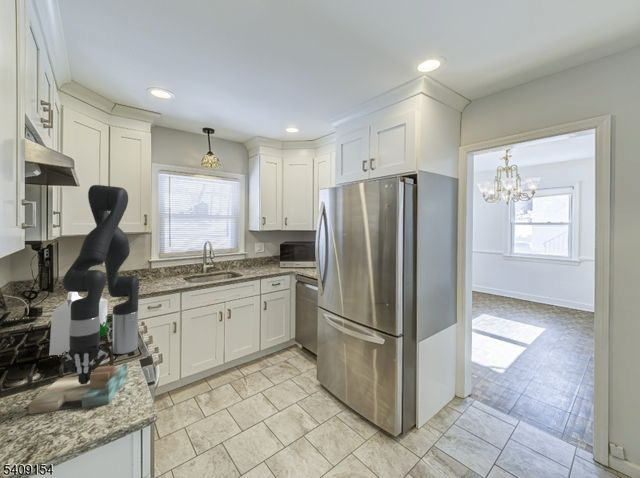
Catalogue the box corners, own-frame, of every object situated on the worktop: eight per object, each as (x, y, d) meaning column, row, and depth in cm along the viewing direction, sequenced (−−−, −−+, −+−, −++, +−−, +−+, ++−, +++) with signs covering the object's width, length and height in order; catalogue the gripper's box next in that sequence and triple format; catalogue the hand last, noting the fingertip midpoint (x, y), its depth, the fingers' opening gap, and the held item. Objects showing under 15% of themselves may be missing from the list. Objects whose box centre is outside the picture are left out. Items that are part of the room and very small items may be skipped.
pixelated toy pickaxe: (59, 386, 93) (59, 369, 93) (126, 379, 99) (126, 363, 99) (28, 414, 80) (28, 394, 80) (108, 403, 85) (108, 385, 85)
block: (98, 381, 92) (98, 367, 92) (115, 379, 93) (115, 365, 93) (89, 390, 87) (89, 374, 87) (108, 388, 89) (108, 373, 88)
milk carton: (80, 336, 134) (80, 296, 133) (102, 331, 142) (102, 293, 141) (88, 341, 130) (88, 299, 129) (110, 334, 137) (110, 295, 137)
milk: (61, 345, 124) (61, 289, 123) (93, 342, 129) (93, 287, 128) (49, 357, 113) (48, 295, 112) (84, 353, 118) (84, 293, 117)
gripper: (114, 325, 94) (113, 374, 95) (67, 328, 90) (67, 379, 91) (103, 333, 87) (102, 386, 87) (52, 336, 83) (52, 392, 84)
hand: (84, 382), depth 89 cm, fingers closed
